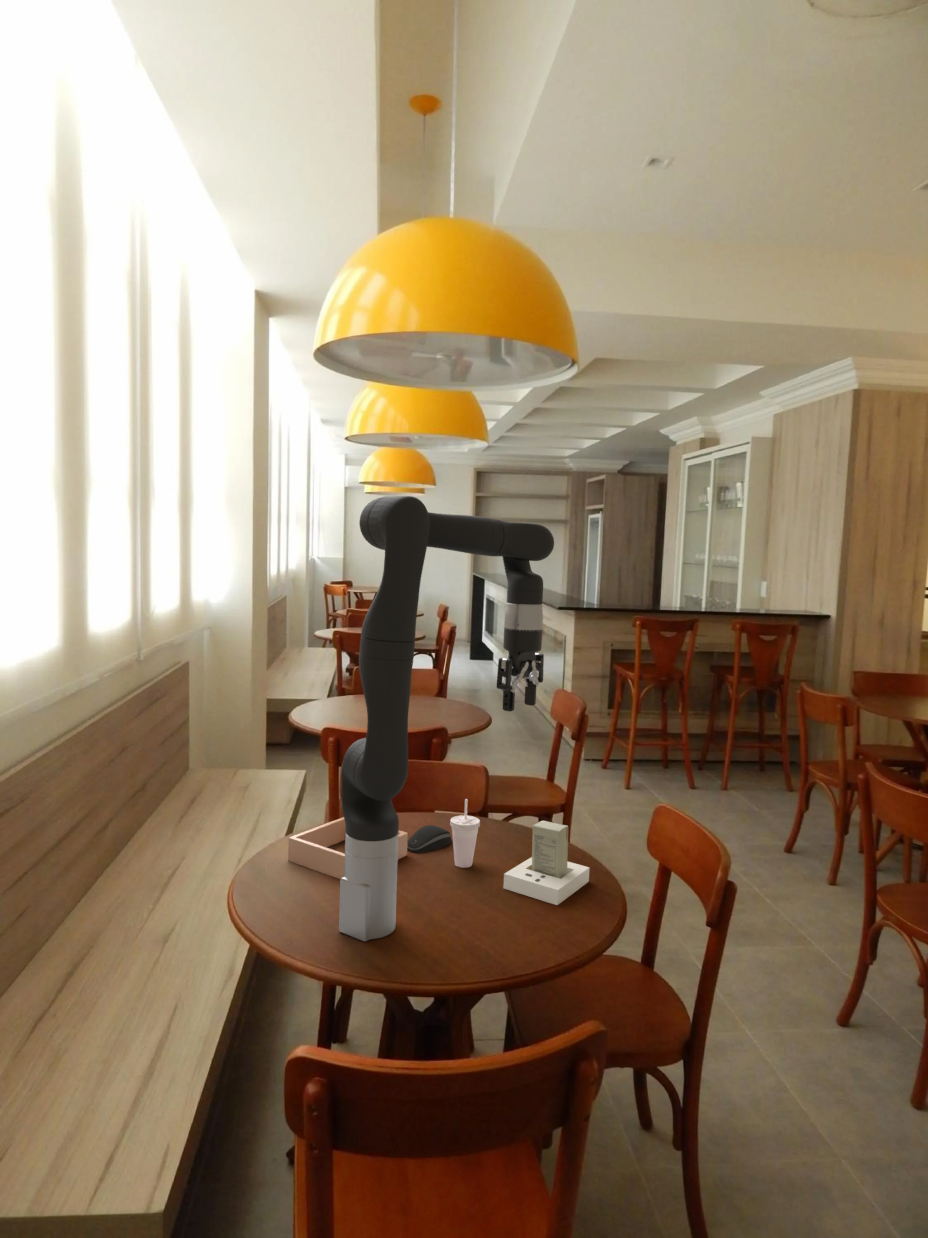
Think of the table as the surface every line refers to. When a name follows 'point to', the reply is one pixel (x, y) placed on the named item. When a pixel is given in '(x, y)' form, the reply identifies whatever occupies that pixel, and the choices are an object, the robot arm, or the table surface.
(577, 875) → the socket board
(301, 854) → the pink square tray
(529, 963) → the table surface
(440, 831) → the computer mouse
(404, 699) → the robot arm
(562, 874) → the skincare box
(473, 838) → the smoothie
